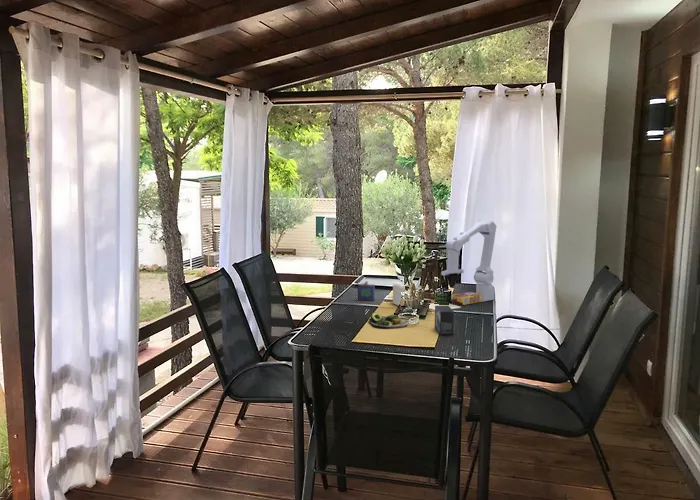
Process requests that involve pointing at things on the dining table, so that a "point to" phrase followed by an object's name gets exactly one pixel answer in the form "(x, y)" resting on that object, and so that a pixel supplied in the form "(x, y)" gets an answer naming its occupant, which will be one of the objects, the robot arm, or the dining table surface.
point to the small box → (444, 320)
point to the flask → (366, 292)
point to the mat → (432, 305)
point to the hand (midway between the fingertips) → (451, 287)
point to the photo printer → (397, 292)
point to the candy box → (466, 298)
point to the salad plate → (387, 321)
